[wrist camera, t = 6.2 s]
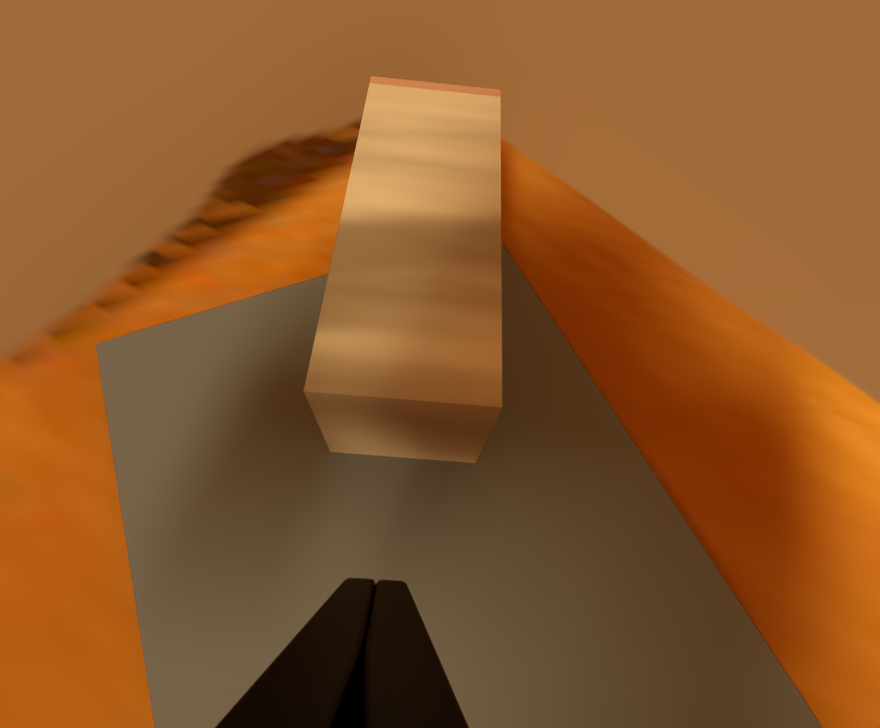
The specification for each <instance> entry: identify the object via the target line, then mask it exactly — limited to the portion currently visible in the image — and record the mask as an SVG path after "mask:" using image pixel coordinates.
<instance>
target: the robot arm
mask: <svg viewBox="0 0 880 728" xmlns="http://www.w3.org/2000/svg"><path fill="white" fill-rule="evenodd" d="M215 728H469V726H468V724H467V722H466V719H465V717H464V715H463V712H462V710H461V708H460V706H459V703H458V701H457V699H456V696H455V694H454V692H453V689H452V687H451V685H450V682H449V680H448V678H447V675H446V673H445V671H444V669H443V666H442V664H441V662H440V659H439V657H438V655H437V652H436V650H435V648H434V645H433V643H432V641H431V638H430V636H429V634H428V632H427V629H426V627H425V625H424V622H423V620H422V618H421V615H420V613H419V611H418V608H417V606H416V604H415V601H414V599H413V597H412V595H411V592H410V590H409V588H408V586H407V584H406V583H405V582H404V581H398V580H383V579H382V580H379V581H378V582H377V583H375V581H374V580H373V579H368V578H353V577H350V578H347V579H345V580H344V581H343V582H342V584H341V585H340V586H339V587H338V588H337V589H336V590H335V591H334V593H333V594H332V595H331V596H330V597H329V598H328V599H327V601H326V602H325V603H324V604H323V605H322V606H321V607H320V609H319V610H318V611H317V612H316V613H315V614H314V615H313V616H312V618H311V619H310V620H309V621H308V622H307V623H306V624H305V626H304V627H303V628H302V629H301V630H300V631H299V632H298V634H297V635H296V636H295V637H294V638H293V639H292V640H291V641H290V643H289V644H288V645H287V646H286V647H285V648H284V649H283V651H282V652H281V653H280V654H279V655H278V656H277V657H276V659H275V660H274V661H273V662H272V663H271V664H270V665H269V666H268V668H267V669H266V670H265V671H264V672H263V673H262V674H261V676H260V677H259V678H258V679H257V680H256V681H255V682H254V684H253V685H252V686H251V687H250V688H249V689H248V690H247V691H246V693H245V694H244V695H243V696H242V697H241V698H240V699H239V701H238V702H237V703H236V704H235V705H234V706H233V707H232V708H231V710H230V711H229V712H228V713H227V714H226V715H225V716H224V718H223V719H222V720H221V721H220V722H219V723H218V724H217V726H216V727H215Z"/></svg>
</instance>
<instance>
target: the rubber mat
mask: <svg viewBox="0 0 880 728" xmlns="http://www.w3.org/2000/svg"><path fill="white" fill-rule="evenodd" d="M328 275H329V274H327V275H323V276H320V277H317V278H313V279H310V280H307V281H303V282H300V283H297V284H293V285H290V286H287V287H283V288H280V289H277V290H273V291H270V292H267V293H263V294H260V295H257V296H253V297H250V298H247V299H243V300H240V301H237V302H233V303H230V304H227V305H223V306H220V307H217V308H213V309H210V310H207V311H203V312H200V313H197V314H193V315H190V316H187V317H183V318H180V319H177V320H173V321H170V322H167V323H163V324H160V325H157V326H153V327H150V328H147V329H143V330H140V331H137V332H133V333H130V334H127V335H123V336H120V337H117V338H113V339H110V340H107V341H103V342H100V343H97V344H96V348H97V355H98V361H99V368H100V374H101V381H102V387H103V394H104V400H105V407H106V413H107V420H108V427H109V433H110V440H111V446H112V453H113V459H114V466H115V472H116V479H117V485H118V492H119V498H120V505H121V511H122V518H123V524H124V531H125V537H126V544H127V550H128V557H129V563H130V570H131V576H132V583H133V589H134V596H135V602H136V609H137V615H138V622H139V628H140V635H141V641H142V648H143V654H144V661H145V668H146V674H147V681H148V687H149V694H150V700H151V707H152V713H153V720H154V726H155V728H215V727H216V726H217V724H218V723H219V722H220V721H221V720H222V719H223V718H224V716H225V715H226V714H227V713H228V712H229V711H230V710H231V708H232V707H233V706H234V705H235V704H236V703H237V702H238V701H239V699H240V698H241V697H242V696H243V695H244V694H245V693H246V691H247V690H248V689H249V688H250V687H251V686H252V685H253V684H254V682H255V681H256V680H257V679H258V678H259V677H260V676H261V674H262V673H263V672H264V671H265V670H266V669H267V668H268V666H269V665H270V664H271V663H272V662H273V661H274V660H275V659H276V657H277V656H278V655H279V654H280V653H281V652H282V651H283V649H284V648H285V647H286V646H287V645H288V644H289V643H290V641H291V640H292V639H293V638H294V637H295V636H296V635H297V634H298V632H299V631H300V630H301V629H302V628H303V627H304V626H305V624H306V623H307V622H308V621H309V620H310V619H311V618H312V616H313V615H314V614H315V613H316V612H317V611H318V610H319V609H320V607H321V606H322V605H323V604H324V603H325V602H326V601H327V599H328V598H329V597H330V596H331V595H332V594H333V593H334V591H335V590H336V589H337V588H338V587H339V586H340V585H341V584H342V582H343V581H344V580H345V579H347V578H350V577H353V578H368V579H373V580H374V581H375V583H377V582H378V581H379V580H382V579H383V580H398V581H404V582H405V583H406V584H407V586H408V588H409V590H410V592H411V595H412V597H413V599H414V601H415V604H416V606H417V608H418V611H419V613H420V615H421V618H422V620H423V622H424V625H425V627H426V629H427V632H428V634H429V636H430V638H431V641H432V643H433V645H434V648H435V650H436V652H437V655H438V657H439V659H440V662H441V664H442V666H443V669H444V671H445V673H446V675H447V678H448V680H449V682H450V685H451V687H452V689H453V692H454V694H455V696H456V699H457V701H458V703H459V706H460V708H461V710H462V712H463V715H464V717H465V719H466V722H467V724H468V726H469V728H823V727H822V726H821V724H820V723H819V721H818V720H817V718H816V717H815V715H814V714H813V712H812V711H811V709H810V708H809V706H808V705H807V703H806V702H805V700H804V699H803V697H802V695H801V694H800V692H799V691H798V689H797V688H796V686H795V685H794V683H793V682H792V680H791V679H790V677H789V676H788V674H787V673H786V671H785V670H784V668H783V667H782V665H781V664H780V662H779V661H778V659H777V658H776V656H775V655H774V653H773V652H772V650H771V649H770V647H769V646H768V644H767V643H766V641H765V639H764V638H763V636H762V635H761V633H760V632H759V630H758V629H757V627H756V626H755V624H754V623H753V621H752V620H751V618H750V617H749V615H748V614H747V612H746V611H745V609H744V608H743V606H742V605H741V603H740V602H739V600H738V599H737V597H736V596H735V594H734V593H733V591H732V590H731V588H730V587H729V585H728V583H727V582H726V580H725V579H724V577H723V576H722V574H721V573H720V571H719V570H718V568H717V567H716V565H715V564H714V562H713V561H712V559H711V558H710V556H709V555H708V553H707V552H706V550H705V549H704V547H703V546H702V544H701V543H700V541H699V540H698V538H697V537H696V535H695V534H694V532H693V530H692V529H691V527H690V526H689V524H688V523H687V521H686V520H685V518H684V517H683V515H682V514H681V512H680V511H679V509H678V508H677V506H676V505H675V503H674V502H673V500H672V499H671V497H670V496H669V494H668V493H667V491H666V490H665V488H664V487H663V485H662V484H661V482H660V481H659V479H658V478H657V476H656V474H655V473H654V471H653V470H652V468H651V467H650V465H649V464H648V462H647V461H646V459H645V458H644V456H643V455H642V453H641V452H640V450H639V449H638V447H637V446H636V444H635V443H634V441H633V440H632V438H631V437H630V435H629V434H628V432H627V431H626V429H625V428H624V426H623V425H622V423H621V422H620V420H619V418H618V417H617V415H616V414H615V412H614V411H613V409H612V408H611V406H610V405H609V403H608V402H607V400H606V399H605V397H604V396H603V394H602V393H601V391H600V390H599V388H598V387H597V385H596V384H595V382H594V381H593V379H592V378H591V376H590V375H589V373H588V372H587V370H586V369H585V367H584V366H583V364H582V362H581V361H580V359H579V358H578V356H577V355H576V353H575V352H574V350H573V349H572V347H571V346H570V344H569V343H568V341H567V340H566V338H565V337H564V335H563V334H562V332H561V331H560V329H559V328H558V326H557V325H556V323H555V322H554V320H553V319H552V317H551V316H550V314H549V313H548V311H547V310H546V308H545V306H544V305H543V303H542V302H541V300H540V299H539V297H538V296H537V294H536V293H535V291H534V290H533V288H532V287H531V285H530V284H529V282H528V281H527V279H526V278H525V276H524V275H523V273H522V272H521V270H520V269H519V267H518V266H517V264H516V263H515V261H514V260H513V258H512V257H511V255H510V253H509V252H508V250H507V249H506V247H505V246H504V244H503V243H502V241H501V284H502V409H501V411H500V413H499V415H498V417H497V419H496V421H495V423H494V425H493V427H492V430H491V432H490V434H489V436H488V438H487V440H486V442H485V444H484V446H483V448H482V450H481V452H480V454H479V456H478V458H477V460H476V462H475V463H467V462H454V461H441V460H428V459H415V458H402V457H389V456H376V455H363V454H350V453H337V452H330V450H329V447H328V445H327V443H326V441H325V438H324V436H323V434H322V432H321V429H320V427H319V425H318V423H317V420H316V418H315V416H314V414H313V411H312V409H311V407H310V405H309V403H308V400H307V398H306V396H305V394H304V386H305V382H306V377H307V373H308V368H309V363H310V359H311V354H312V349H313V345H314V340H315V335H316V331H317V326H318V321H319V317H320V312H321V307H322V303H323V298H324V293H325V289H326V284H327V279H328Z"/></svg>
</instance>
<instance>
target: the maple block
mask: <svg viewBox="0 0 880 728" xmlns="http://www.w3.org/2000/svg"><path fill="white" fill-rule="evenodd" d="M500 127H501V126H500V90H496V89H487V88H477V87H468V86H458V85H449V84H440V83H429V82H420V81H411V80H401V79H392V78H383V77H374V76H371V79H370V84H369V89H368V93H367V98H366V103H365V107H364V112H363V117H362V121H361V126H360V131H359V135H358V140H357V145H356V149H355V154H354V159H353V163H352V168H351V172H350V177H349V182H348V186H347V191H346V196H345V200H344V205H343V210H342V214H341V219H340V224H339V228H338V233H337V238H336V242H335V247H334V252H333V256H332V261H331V266H330V270H329V275H328V279H327V284H326V289H325V293H324V298H323V303H322V307H321V312H320V317H319V321H318V326H317V331H316V335H315V340H314V345H313V349H312V354H311V359H310V363H309V368H308V373H307V377H306V382H305V386H304V394H305V396H306V398H307V400H308V403H309V405H310V407H311V409H312V411H313V414H314V416H315V418H316V420H317V423H318V425H319V427H320V429H321V432H322V434H323V436H324V438H325V441H326V443H327V445H328V447H329V450H330V452H337V453H350V454H363V455H376V456H389V457H402V458H415V459H428V460H441V461H454V462H467V463H475V462H476V460H477V458H478V456H479V454H480V452H481V450H482V448H483V446H484V444H485V442H486V440H487V438H488V436H489V434H490V432H491V430H492V427H493V425H494V423H495V421H496V419H497V417H498V415H499V413H500V411H501V409H502V284H501V133H500V132H501V130H500V129H501V128H500Z"/></svg>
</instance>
